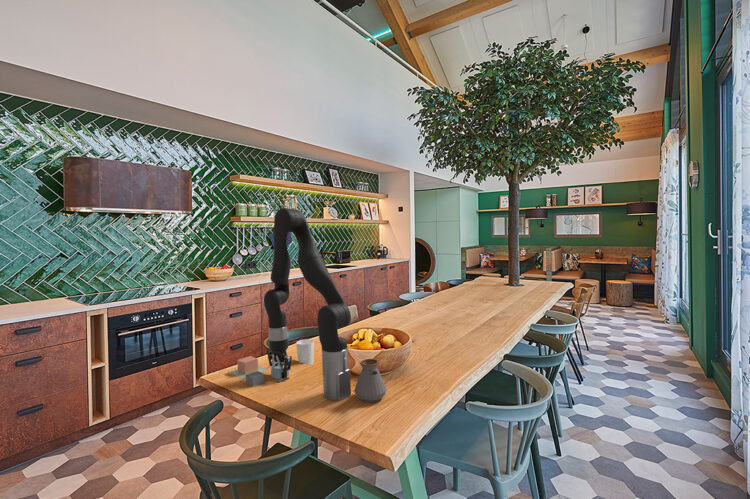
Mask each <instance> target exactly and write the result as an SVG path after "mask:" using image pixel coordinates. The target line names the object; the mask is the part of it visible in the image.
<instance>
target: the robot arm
mask: <svg viewBox="0 0 750 499" xmlns="http://www.w3.org/2000/svg"><path fill="white" fill-rule="evenodd" d="M288 233H292V234H293V236H294V237H295V239H296V242H297V245H298V254H297V265H298V266H299V269H300V272H301V274H302V276H303V278H304V280H305V281H306V283H308V284H309V285H310V286H311V287H312V288H314V289H315V290H316V291H317V292H318V293H319V294H321V296H322V297H323V298H324V300H325V302H326V304H327V305H324V306H321V307H320V309H319V310H318V313H317V330H318V339H319V343H320V344H321V362H322V363H321V364H322V365H321V366H322V367H321V368H322V389H323V398H325V399H326V400H329V401H338V402H340V401H343V400H344V399H346V398H348V397H350V396H351V395H352V383H351V381H352V379H351V369H350V368H349V361H348V360H349V359H348V358H349V356H348V341H347V339H346V338H344V337H340V336H339V330H341V329H343V328H345V327H348V326H349V325H350V323H351V320H352V315H351V312H350V309H349V306H348V305H347V303H346V301H345V299H344V297H343V296H342V295H341V292H340V290H338V288H337V286H336V284H335V282H334V279H333V278H332V276H331V275H330V272H329V270H328V268H327V265H326V264H325V261H324V259H323V257H322V254H321V253H320V250H319V249H318V247H317V244H316V242H315V240H314V238H313V236H312V232H311V230H310V227H309V224H308V220H307V218H306V216H305V214H304V213H303V211H301V210H299V209H294V208H285V207H281V208H279V209H278V210H277V211H276V213H275V215H274V221H273V258H272V259H273V260H272V266H271V273H270V281H271V283H273V284H274V288H273V289H270V290H267V291H266V292H265V293H264V297H263V304H264V308H265V311H266V315H267V317H268V348H269V351H267V353H266V354H267V359H268V364H269V367H271V368H273V367H276V366H278V365H279V367H280V368H281V377H282V378H281V380H282V381H283V382H285V380H286V381H287V378H288V376H287V371H288V370H289V371H290V370H292V369H291V368H292V361H293V357H292V356H291V355H288V353H287V350H288V348H289V335H288V326H287V325H288V322H287V314H286V312H285V311H282V310H281V306H282V305H284V304H286V303H287V301H288V300H289V296H290V284H289V283H290V282H289V277H290V273H291V267H292V266H291V264H292V263H291V256H290V253H289V250H288V246H287V240H288V239H287V237H288ZM283 365H284V369H283Z"/></svg>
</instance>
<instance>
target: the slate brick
mask: <svg viewBox="0 0 750 499" xmlns="http://www.w3.org/2000/svg"><path fill="white" fill-rule="evenodd" d="M265 380H266V379H265V373H263V372H258V371H256V372H253V373H250V374H247V375H246V378H245V383H246V385H248V386H251V387H256V386H259V385H262V384H264V383H265V382H266V381H265Z"/></svg>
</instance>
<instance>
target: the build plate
mask: <svg viewBox="0 0 750 499" xmlns="http://www.w3.org/2000/svg"><path fill="white" fill-rule="evenodd" d="M266 371H269V369H267V368H265V367H262V366H260V365H258V372H261V373H263V372H266ZM255 372H256V371H255ZM227 373H229V374H231V375H233V376H234V377H237V378H239V379H242V380H244V379H246V375H247V374H246V375H245V374H242V373H240V372H238V368H236V369H234V370H231V371H230V370H229V371H228V372H227ZM252 373H253V372H252ZM249 374H250V373H249Z"/></svg>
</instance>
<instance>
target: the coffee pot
mask: <svg viewBox="0 0 750 499" xmlns="http://www.w3.org/2000/svg"><path fill="white" fill-rule="evenodd" d="M378 364H379V360H378V359H375V358H367V359H363V360H361V361H360V362H359V365H360V366H361V368H362V369H361V371H360V374H359V376H358V380H357V382H356V385H355V387H354V394H355V396H356V397H358V399H360V400H361V401H362V402H365V403H373V402H374V403H375V402H378V401H380V400H381V399H382V398H383V397H384V396H385V395H386V392H387V386H386V383H385V382H384V379H383V377H382V375H381V373H380V370H379V369H378Z"/></svg>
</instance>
